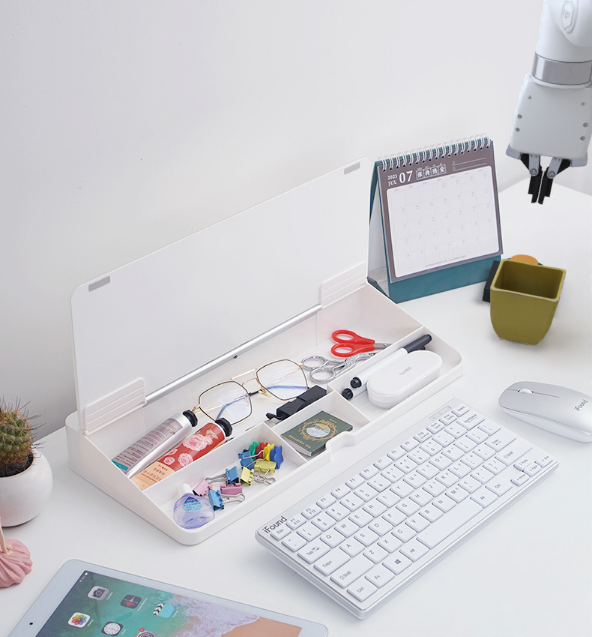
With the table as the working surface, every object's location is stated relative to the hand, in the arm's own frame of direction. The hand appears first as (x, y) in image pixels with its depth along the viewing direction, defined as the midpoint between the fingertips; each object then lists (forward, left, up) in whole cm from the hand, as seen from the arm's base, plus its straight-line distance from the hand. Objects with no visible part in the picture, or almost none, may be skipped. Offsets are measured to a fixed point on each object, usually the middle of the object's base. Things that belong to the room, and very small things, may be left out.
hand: (537, 199), depth 112 cm
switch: (0, 0, -15) cm, 15 cm away
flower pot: (-1, +11, -16) cm, 19 cm away
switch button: (0, 0, -12) cm, 12 cm away
